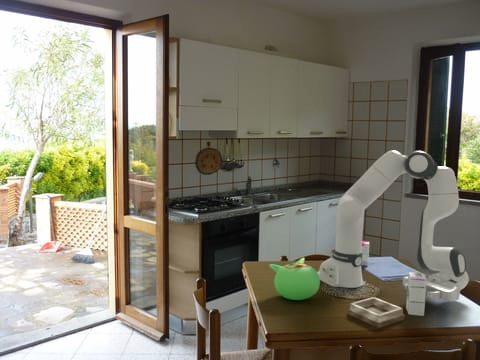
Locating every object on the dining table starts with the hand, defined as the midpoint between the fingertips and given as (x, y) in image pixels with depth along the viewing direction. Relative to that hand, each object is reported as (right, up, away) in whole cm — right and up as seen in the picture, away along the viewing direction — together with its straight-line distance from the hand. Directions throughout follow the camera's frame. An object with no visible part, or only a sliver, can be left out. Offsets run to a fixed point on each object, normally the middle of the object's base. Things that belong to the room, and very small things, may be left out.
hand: (417, 291), depth 171 cm
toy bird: (-44, -6, +12) cm, 46 cm away
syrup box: (-1, -8, +1) cm, 8 cm away
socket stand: (-17, -8, -5) cm, 19 cm away
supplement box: (-5, -1, +60) cm, 60 cm away
